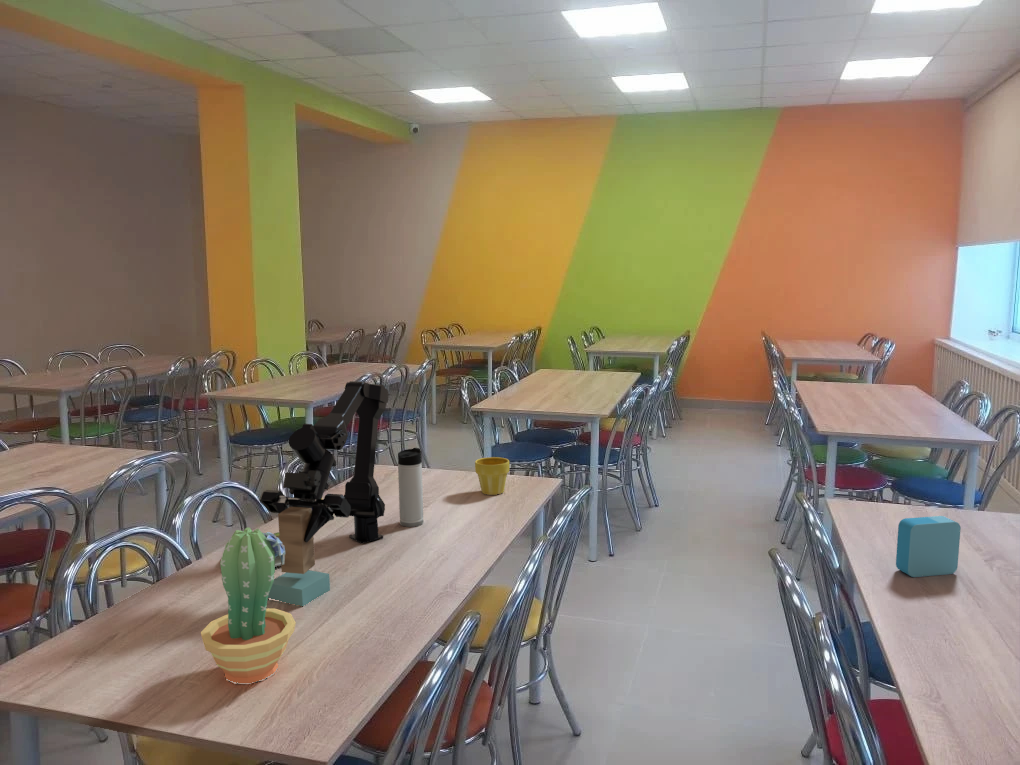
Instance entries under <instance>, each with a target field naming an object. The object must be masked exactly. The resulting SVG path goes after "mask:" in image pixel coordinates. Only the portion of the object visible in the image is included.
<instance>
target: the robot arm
mask: <svg viewBox="0 0 1020 765" xmlns="http://www.w3.org/2000/svg"><path fill="white" fill-rule="evenodd" d="M344 385H345V386H344V390H343V392H342V394H341V395H340V397H339V398H338V400H337V401H336V403H335V404H334V405H333V407H332V409H331V411H330V412H329V414H328V415H326V416H323V417H322V418H319V419H318V420H317V421H316V423H315V424H311V423H303V425H302V427H301V428H298V429H297V430H295V431H294V432H293V433H292V434H291V435H289V437H288V445H289V447H290V449H292V451H293V452H294V454H295V455H296V456H297V457H298V459H299V461H301V462H302V463H304V465H303V469H302V471H301V470H300V471H298V472H287V471H286V472H284V477H283V484H282V485H283V486H282V487H283V489H289V493H290V495H293V497H292V496H286V495H285V494H284V493H283V492H282V491H281V490H275V489H274V490H271V489H270V490H269V489H266V490H264V491H263V492H262V493H261V496H260V497H259V500H258V501H259V502H260V503H261V504H262V506H264V507H265V508H266V510H267V511H268V512H270V513H272V514H273V513H274V514H279V513H281V512H282V511H284V510H285V509H287V508H289V507H304V508H312V516H311V519H310V521H309V524H308V527H307V530H306V533H305V537H304V541H305V542H308V541H309V540H310V539H311V538H312V537H313V538H314V536H315V535H316V533H317V532H319V530H321V529H322V527H324V526H325V525H326V524H327V523H329V521H334V520H335V517H336V518H349V517H353V524H354V534H349V538H350V539H352V540H353V541H355V542H357V543H360V544H366V543H371V542H373V541H378V540H380V539H383V538H384V535H383V534H381V533H379V523H378V522H379V520H378V519H379V518H380V517H384V516H385V511H386V504H385V502H384V500H383V499H382V498H381V496H380V495H379V494H380V492H379V490H380V488H379V486H378V483H377V481H376V480H375V477H374V472H375V464H376V463H375V462H376V450H377V449H376V448H377V438H378V428H379V427H378V425H379V420H380V418H381V417H382V415H383V413H385V411H386V409H387V403H388V401H389V394H390V393H389V390H388V389H387V388H386V387H385V386H384V384H375V383H374V384H370V383H369V382H366V381H355V380H353V381H347V382H346V384H344ZM355 414H357V417H358V427H357V436H356V437H357V439H356V449H355V460H354V470H353V472H354V473H353V476H352V477H351V479H350V480H349V481H347V482H346V483H345V486H344V494H341V493H327V494H325V495H324V493H325V490H328V489H329V487H330V484H328V480H329V476H330V474H331V470H332V468H333V467H336V466H337V460H336V459H335V455H334V453H331V451H332V450H333V451H341V450H342V449H343V447H345V445H346V443H347V439H348V437H349V434H348V430H347V428H348V426H349V424H350V422H351V421H352V419H353V418H354V416H355ZM330 450H331V451H330ZM323 496H324V497H323Z"/></svg>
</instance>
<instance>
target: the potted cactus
mask: <svg viewBox="0 0 1020 765" xmlns="http://www.w3.org/2000/svg"><path fill="white" fill-rule="evenodd" d="M278 555H279V556H281V561H282V565H284V562H285V548H284V545H283V544H282V542H281V541H280V540H279V538H278V537H276V536H275V535H274V533H272V532H270V531H267V532H263V531H261V530H260V529H259V528H255V529H254V530H252V529H251V527H250V526H249V527H245V528H244V529H243V530H239V529H236V530H234V532H233V533H232V535H231V537H230V538H229V540H228V541H227V542H226V544H225V546H224V550H223V552H222V556H221V559H220V561H219V562H220V563H219V564H220V573H221V580H222V585H223V588H224V591H225V593H226V596H227V601H228V602H227V614H225V615H223V616H220V617H218V618H216V619H214V620H212V621H210V622H209V623H208V624H207V625H206V626H205V627H204V628H203V629H202V631H200V635H201V640H202V643H203V646H204V650H205V651H207V652H209V653H210V654H211V656H212V658H213V660H214V662H215V664H216V665H217V667H218V668H220V670H221V671H223V674H224V673H225V676H224V678H225V677H226V679H228V680H230V681H233V682H236V683H237V682H238V683H252V682H256V681H259V680H262V679H265V678H266V677H268V676H270V675H271V674H273V673H274V672H275V671H276V669H277V668H278V666H279V664H278V662H279V660H280V658H281V657H282V656H283V654H284V653H285V651H286V649H287V646H288V643H289V639H290V638H291V637H292V635H293V633H295V628H296V623H297V622H296V621H295V618H294V617H293V615H292V613H290V612H287V611H284V610H282V609H277V608H271V607H270V608H269V607H268V601H269V600H268V595H269V592H270V590H271V587H272V584H273V581H274V579H275V572H276V568H275V557H277V556H278ZM267 607H268V608H267Z"/></svg>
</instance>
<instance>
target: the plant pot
mask: <svg viewBox="0 0 1020 765" xmlns="http://www.w3.org/2000/svg"><path fill="white" fill-rule="evenodd" d="M474 469H475V470H474V471H475V473H476V474H477V477H478V482H479V485H480V489H481V493H482V494H483V495H486V494H487V496H498V495H497V494H499V495H502V494H504V493H505V487H506V483H507V482H506V481H507V478H508V474H509V472H510V460H509V459H508V458H506V457H505V458H504V457H499V456H497V457H496V456H490V457H489V456H488V457H482V458H478V459H476V460H475V461H474ZM501 493H502V494H501Z"/></svg>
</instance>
